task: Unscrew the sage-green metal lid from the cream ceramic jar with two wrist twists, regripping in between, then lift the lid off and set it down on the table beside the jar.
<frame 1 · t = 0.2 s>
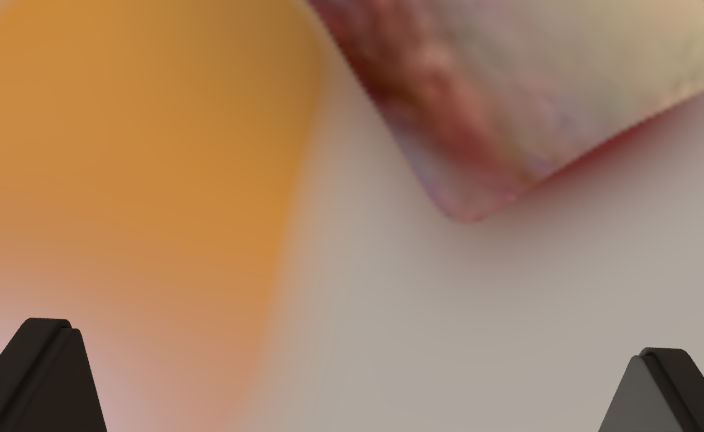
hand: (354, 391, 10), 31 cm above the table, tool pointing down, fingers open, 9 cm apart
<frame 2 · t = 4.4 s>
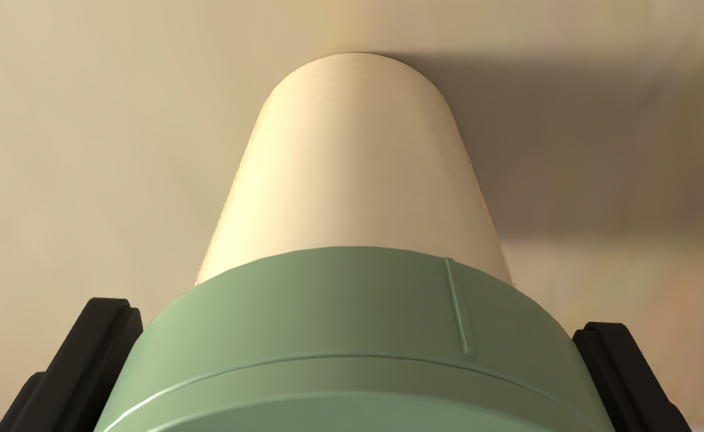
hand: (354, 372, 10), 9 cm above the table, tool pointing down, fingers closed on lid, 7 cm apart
jar: (355, 154, 18), on the table
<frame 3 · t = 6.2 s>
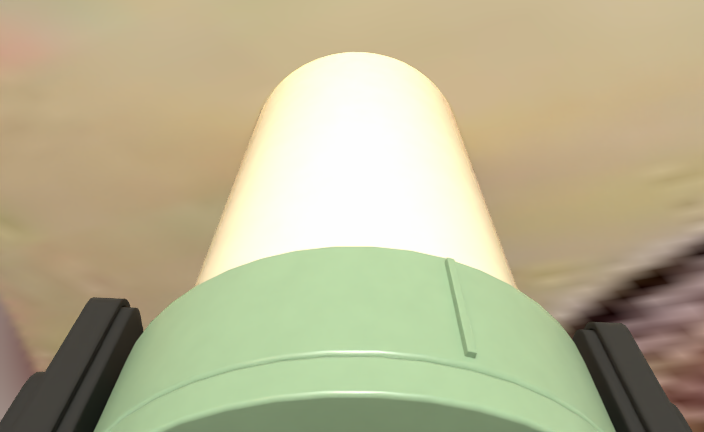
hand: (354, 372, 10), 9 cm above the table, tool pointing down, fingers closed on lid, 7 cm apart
jar: (356, 153, 18), on the table
when the fingers open (9 cm above the table, at t = 7.9 s): lid stays where it is, point 12 cm above the table.
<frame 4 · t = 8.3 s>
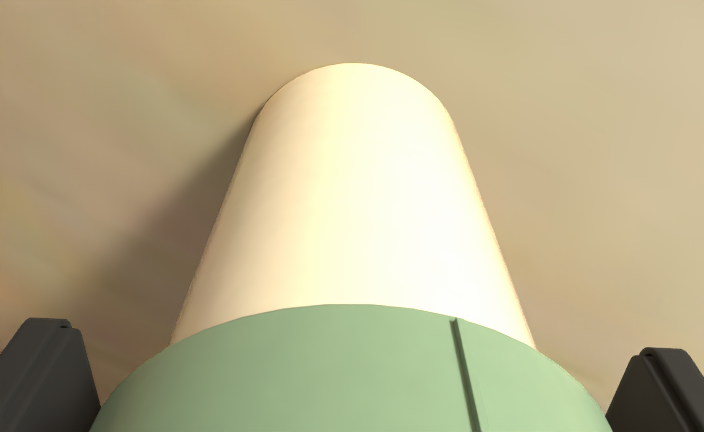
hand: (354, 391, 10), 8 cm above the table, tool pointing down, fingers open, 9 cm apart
jar: (353, 168, 17), on the table
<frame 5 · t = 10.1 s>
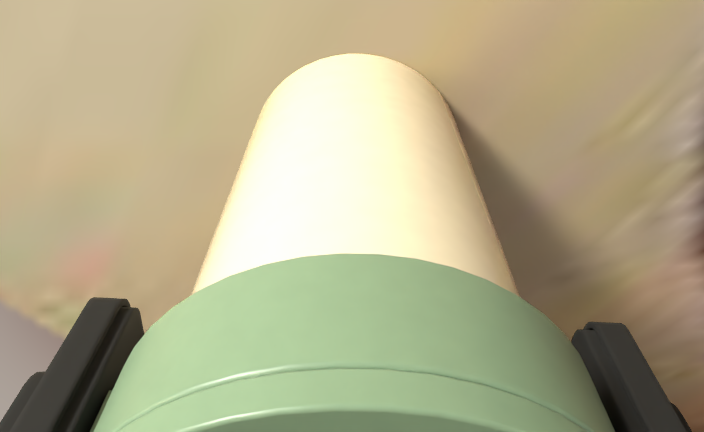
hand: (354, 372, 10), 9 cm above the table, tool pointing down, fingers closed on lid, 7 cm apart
jar: (355, 155, 18), on the table
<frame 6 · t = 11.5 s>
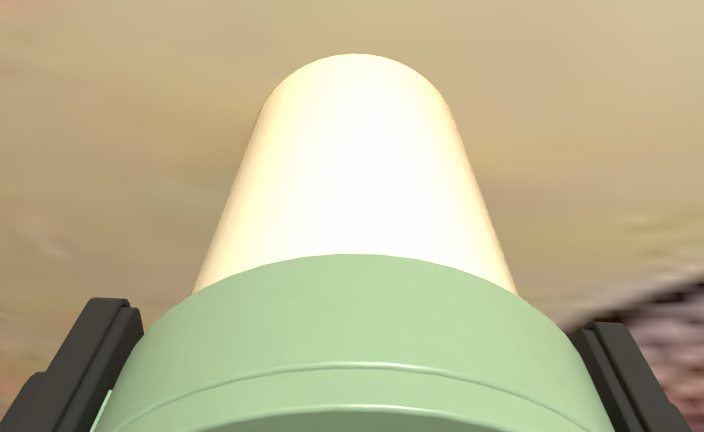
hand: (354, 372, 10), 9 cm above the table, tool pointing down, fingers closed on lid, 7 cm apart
jar: (355, 155, 18), on the table
when the fingers open (0 cm above the table, at t = 19.8 s): lid drops 2 cm, point 2 cm above the table.
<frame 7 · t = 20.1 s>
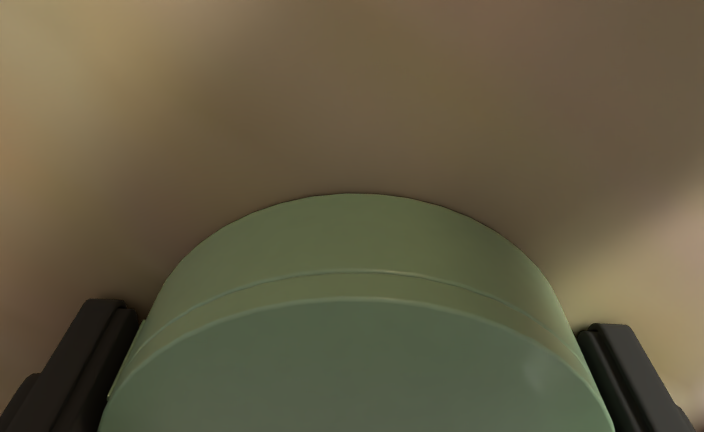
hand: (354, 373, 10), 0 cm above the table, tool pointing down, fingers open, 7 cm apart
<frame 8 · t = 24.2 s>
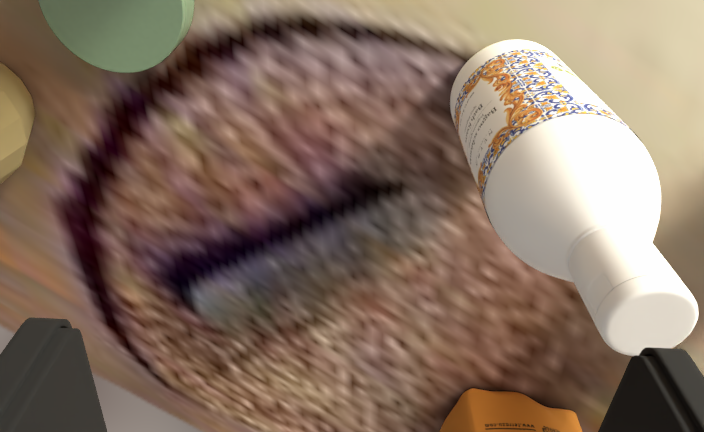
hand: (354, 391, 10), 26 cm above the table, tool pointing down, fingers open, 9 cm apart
lid: (113, 0, 30), point 2 cm above the table, off its thread
bath foam: (505, 93, 35), on the table
coffee package: (504, 424, 51), on the table
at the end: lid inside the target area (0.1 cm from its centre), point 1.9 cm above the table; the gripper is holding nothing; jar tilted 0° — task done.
